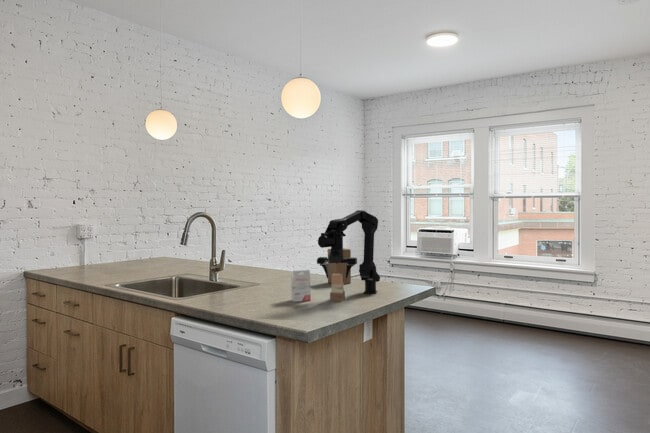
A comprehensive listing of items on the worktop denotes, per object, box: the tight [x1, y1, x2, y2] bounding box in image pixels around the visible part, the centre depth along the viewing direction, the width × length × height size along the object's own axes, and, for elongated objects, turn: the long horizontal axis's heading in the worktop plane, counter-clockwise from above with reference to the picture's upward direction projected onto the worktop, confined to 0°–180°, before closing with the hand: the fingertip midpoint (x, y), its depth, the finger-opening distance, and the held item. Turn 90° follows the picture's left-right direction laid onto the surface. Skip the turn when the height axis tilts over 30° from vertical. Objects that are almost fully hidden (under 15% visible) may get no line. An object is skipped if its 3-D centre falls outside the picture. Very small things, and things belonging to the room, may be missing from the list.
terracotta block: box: [331, 274, 343, 285], centre depth 223 cm, size 4×4×4 cm
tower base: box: [329, 290, 346, 302], centre depth 223 cm, size 6×6×4 cm
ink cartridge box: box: [290, 269, 312, 302], centre depth 223 cm, size 9×5×15 cm, turn 105°
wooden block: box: [327, 247, 352, 285], centre depth 271 cm, size 10×10×20 cm
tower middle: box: [331, 283, 345, 293], centre depth 223 cm, size 5×5×4 cm
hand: (337, 278), depth 223 cm, fingers open, 9 cm apart
